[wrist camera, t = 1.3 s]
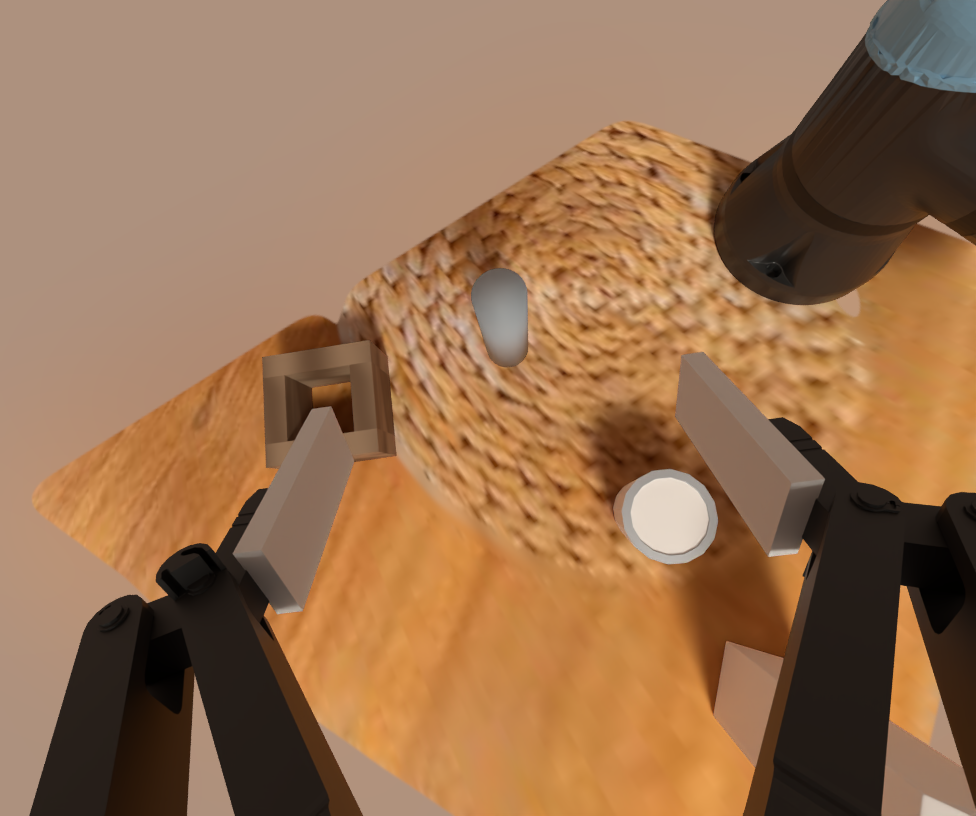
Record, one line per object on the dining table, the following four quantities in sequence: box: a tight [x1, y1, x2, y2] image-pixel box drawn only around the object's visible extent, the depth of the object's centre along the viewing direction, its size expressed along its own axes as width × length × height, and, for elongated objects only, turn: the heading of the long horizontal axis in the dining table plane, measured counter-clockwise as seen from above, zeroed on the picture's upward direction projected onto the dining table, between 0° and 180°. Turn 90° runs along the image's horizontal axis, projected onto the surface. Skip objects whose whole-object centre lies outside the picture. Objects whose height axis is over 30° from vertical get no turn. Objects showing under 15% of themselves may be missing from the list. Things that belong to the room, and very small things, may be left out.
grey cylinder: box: [471, 268, 528, 367], centre depth 37 cm, size 4×4×12 cm
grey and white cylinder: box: [613, 469, 718, 564], centre depth 36 cm, size 7×7×7 cm
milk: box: [713, 641, 976, 816], centre depth 25 cm, size 6×6×22 cm
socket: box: [262, 340, 396, 469], centre depth 41 cm, size 10×10×5 cm
